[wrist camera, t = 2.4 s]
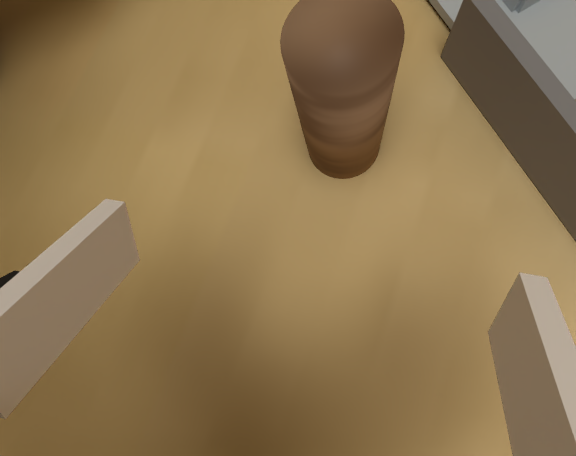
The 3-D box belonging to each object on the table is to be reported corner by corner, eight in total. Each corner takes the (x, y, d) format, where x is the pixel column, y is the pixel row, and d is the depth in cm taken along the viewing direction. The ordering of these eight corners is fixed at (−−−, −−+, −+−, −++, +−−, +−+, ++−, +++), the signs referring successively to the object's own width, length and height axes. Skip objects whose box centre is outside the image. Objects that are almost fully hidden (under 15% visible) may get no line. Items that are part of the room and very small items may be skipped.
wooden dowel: (295, 134, 28) (259, 23, 17) (356, 98, 28) (363, -40, 16) (330, 191, 27) (317, 117, 16) (393, 155, 27) (429, 51, 15)
